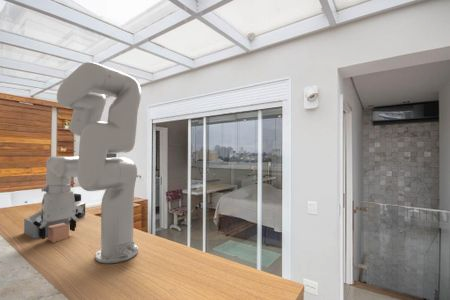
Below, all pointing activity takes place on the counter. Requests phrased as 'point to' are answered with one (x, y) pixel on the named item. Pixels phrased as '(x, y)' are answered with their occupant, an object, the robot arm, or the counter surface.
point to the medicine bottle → (77, 203)
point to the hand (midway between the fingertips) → (58, 233)
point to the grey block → (33, 229)
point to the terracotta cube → (58, 232)
